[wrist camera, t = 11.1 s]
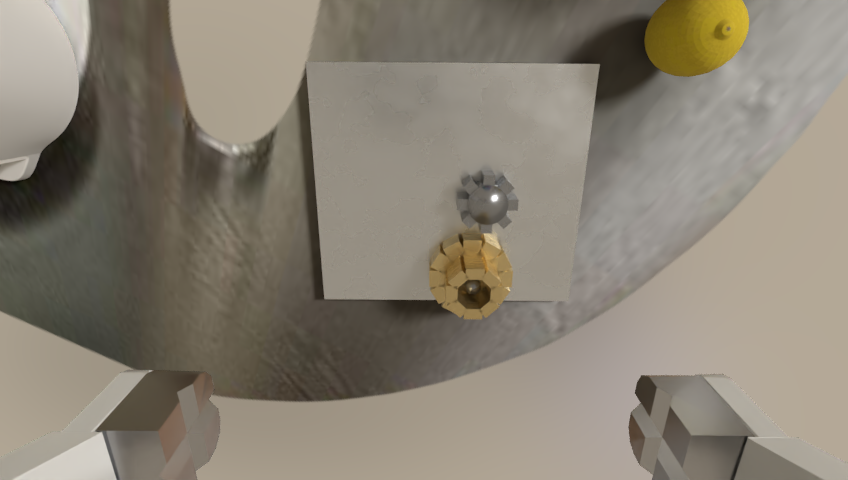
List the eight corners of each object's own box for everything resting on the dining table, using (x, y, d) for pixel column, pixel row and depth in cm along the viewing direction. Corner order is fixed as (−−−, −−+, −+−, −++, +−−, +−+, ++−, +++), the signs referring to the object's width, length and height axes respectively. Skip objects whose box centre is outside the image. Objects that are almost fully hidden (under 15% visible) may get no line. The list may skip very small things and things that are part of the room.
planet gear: (428, 304, 42) (429, 332, 38) (429, 232, 40) (430, 253, 35) (505, 305, 42) (515, 333, 38) (511, 233, 40) (522, 253, 35)
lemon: (717, 25, 35) (796, 15, 27) (664, 89, 36) (725, 96, 29) (664, -22, 34) (731, -46, 26) (611, 46, 35) (661, 42, 28)
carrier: (326, 292, 43) (315, 319, 39) (309, 61, 36) (293, 61, 31) (564, 294, 43) (580, 321, 39) (594, 63, 36) (617, 64, 31)
